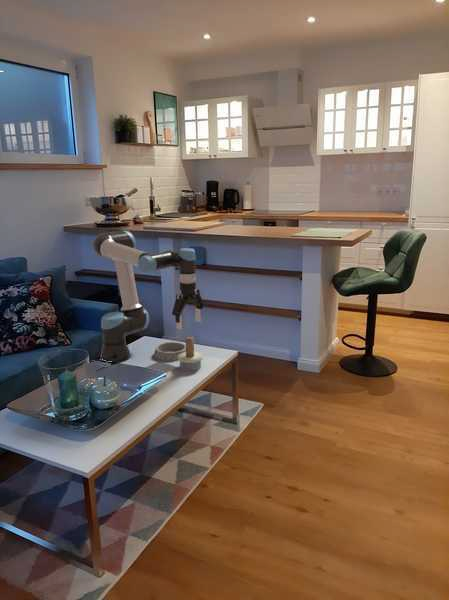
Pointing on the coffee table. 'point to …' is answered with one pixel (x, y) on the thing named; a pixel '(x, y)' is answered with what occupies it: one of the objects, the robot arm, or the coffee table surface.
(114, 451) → the coffee table surface
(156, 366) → the mat
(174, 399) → the coffee table surface
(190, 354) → the cover
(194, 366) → the bowl
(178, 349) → the dog bowl
